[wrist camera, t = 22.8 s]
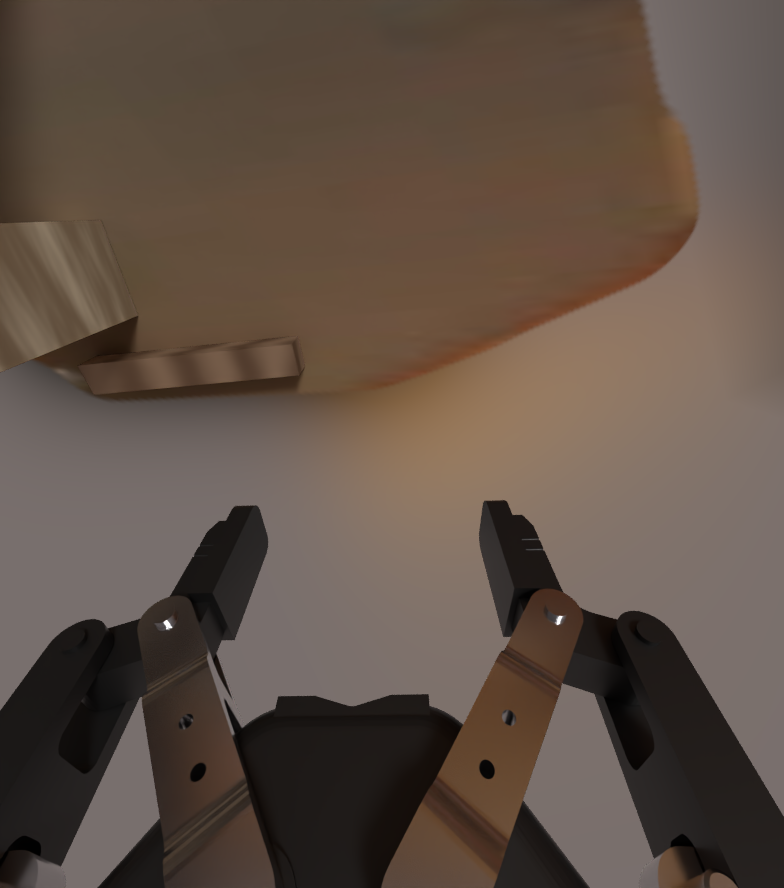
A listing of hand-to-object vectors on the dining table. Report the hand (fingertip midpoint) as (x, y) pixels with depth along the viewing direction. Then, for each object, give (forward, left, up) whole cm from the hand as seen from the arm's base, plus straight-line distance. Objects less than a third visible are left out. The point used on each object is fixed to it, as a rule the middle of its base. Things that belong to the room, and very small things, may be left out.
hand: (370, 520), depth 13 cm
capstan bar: (-7, -21, -32) cm, 39 cm away
